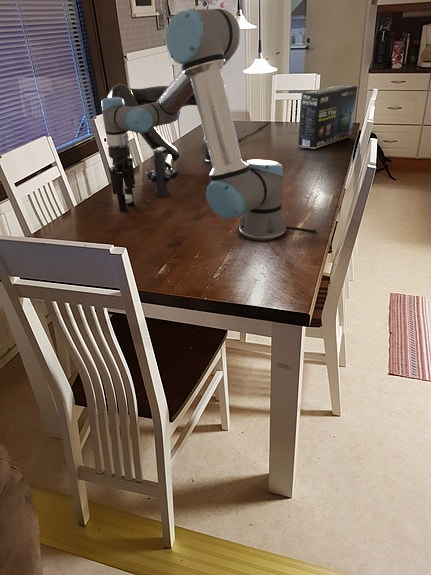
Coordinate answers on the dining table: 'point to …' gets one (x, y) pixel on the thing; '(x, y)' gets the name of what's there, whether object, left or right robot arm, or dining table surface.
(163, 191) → the dark grey column
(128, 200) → the lid
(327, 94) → the router box
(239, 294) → the dining table surface
